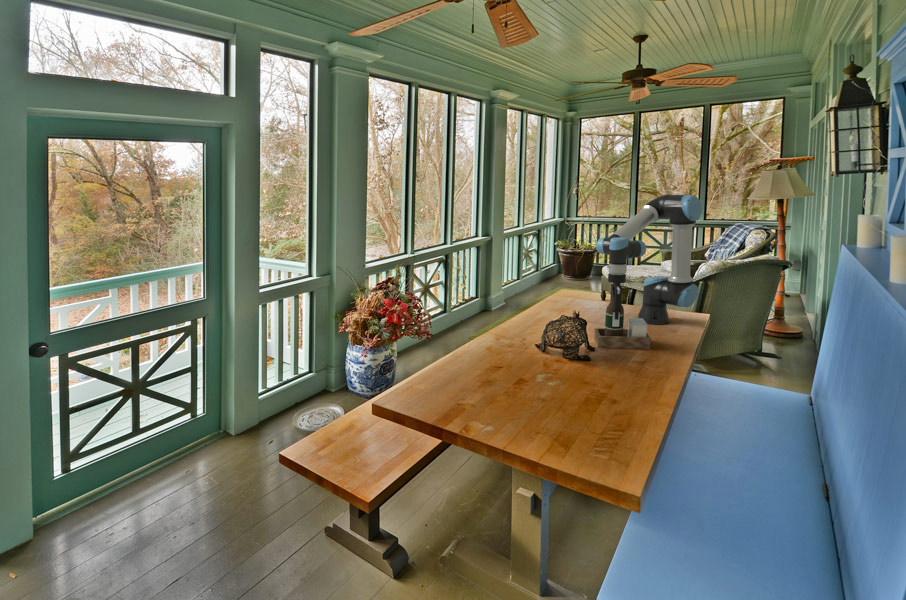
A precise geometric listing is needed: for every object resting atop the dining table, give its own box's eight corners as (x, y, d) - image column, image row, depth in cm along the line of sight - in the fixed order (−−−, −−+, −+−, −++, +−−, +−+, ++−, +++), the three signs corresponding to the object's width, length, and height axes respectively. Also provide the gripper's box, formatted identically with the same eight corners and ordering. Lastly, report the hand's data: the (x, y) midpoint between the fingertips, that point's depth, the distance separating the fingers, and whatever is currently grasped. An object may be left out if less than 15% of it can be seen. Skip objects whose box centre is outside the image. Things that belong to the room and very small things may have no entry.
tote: (643, 340, 250) (644, 329, 249) (649, 349, 237) (650, 338, 236) (594, 338, 253) (594, 328, 252) (597, 347, 240) (598, 336, 239)
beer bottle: (613, 340, 240) (616, 286, 235) (600, 336, 247) (603, 283, 241) (626, 338, 243) (629, 285, 238) (613, 333, 250) (616, 282, 245)
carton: (641, 338, 249) (642, 318, 246) (646, 345, 238) (647, 324, 236) (626, 338, 249) (628, 318, 247) (630, 345, 239) (632, 324, 237)
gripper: (605, 269, 249) (602, 317, 254) (611, 277, 229) (608, 329, 234) (622, 269, 248) (619, 318, 253) (630, 277, 228) (626, 330, 233)
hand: (614, 323), depth 244 cm, fingers closed on beer bottle, 8 cm apart
